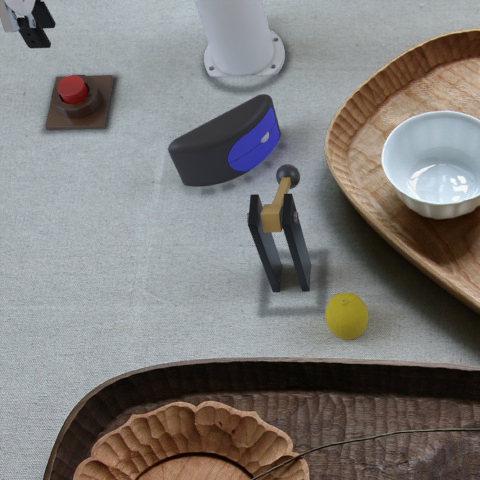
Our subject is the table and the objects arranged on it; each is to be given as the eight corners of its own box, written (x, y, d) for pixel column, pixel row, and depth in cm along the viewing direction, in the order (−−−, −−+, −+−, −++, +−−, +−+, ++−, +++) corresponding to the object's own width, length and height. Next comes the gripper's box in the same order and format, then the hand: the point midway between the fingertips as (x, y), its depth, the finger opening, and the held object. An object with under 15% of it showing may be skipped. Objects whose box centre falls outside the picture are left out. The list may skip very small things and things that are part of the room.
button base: (58, 79, 127) (51, 67, 125) (114, 78, 127) (108, 66, 124) (46, 130, 123) (39, 118, 121) (104, 129, 123) (98, 117, 121)
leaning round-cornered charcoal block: (197, 206, 117) (178, 163, 108) (182, 185, 118) (162, 141, 109) (294, 153, 119) (282, 107, 111) (278, 133, 121) (266, 86, 112)
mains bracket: (267, 255, 113) (239, 178, 97) (324, 254, 113) (305, 177, 97) (262, 312, 109) (233, 242, 94) (321, 311, 109) (301, 240, 94)
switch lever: (279, 183, 110) (276, 160, 108) (302, 183, 110) (300, 160, 108) (259, 235, 97) (255, 210, 95) (286, 235, 97) (282, 210, 95)
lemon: (340, 356, 106) (333, 327, 99) (322, 323, 108) (314, 293, 101) (378, 338, 107) (373, 308, 100) (359, 305, 109) (353, 274, 102)
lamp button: (64, 84, 124) (59, 75, 122) (90, 83, 124) (85, 74, 122) (60, 104, 122) (55, 96, 121) (86, 103, 122) (81, 95, 121)
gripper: (-11, -39, 93) (59, 81, 110) (16, -135, 99) (78, -7, 116) (-74, -37, 93) (5, 82, 110) (-43, -132, 99) (27, -6, 116)
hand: (42, 35), depth 113 cm, fingers open, 3 cm apart
